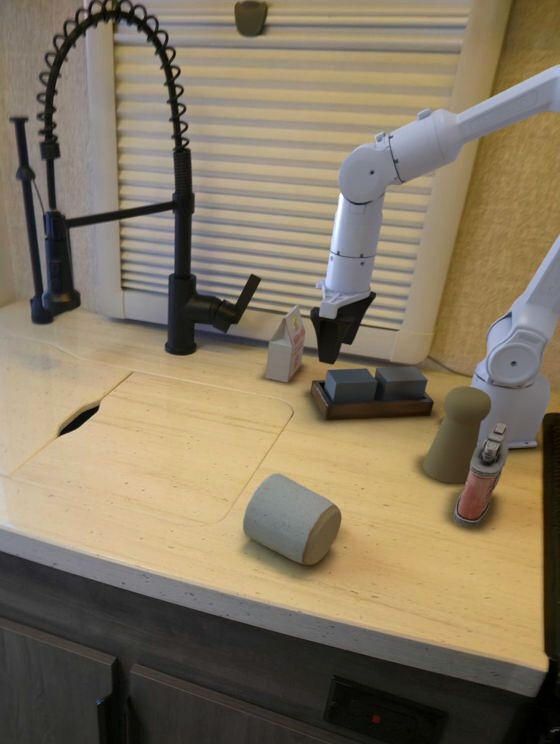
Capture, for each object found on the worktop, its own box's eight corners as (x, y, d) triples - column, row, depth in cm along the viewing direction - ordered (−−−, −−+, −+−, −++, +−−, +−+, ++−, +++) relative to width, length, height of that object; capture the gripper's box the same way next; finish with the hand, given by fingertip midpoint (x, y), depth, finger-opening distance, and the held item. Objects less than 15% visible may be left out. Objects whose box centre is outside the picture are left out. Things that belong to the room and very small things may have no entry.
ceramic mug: (304, 582, 67) (315, 522, 63) (238, 548, 71) (244, 489, 67) (353, 534, 74) (366, 476, 69) (290, 505, 78) (299, 449, 73)
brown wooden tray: (408, 390, 102) (415, 361, 99) (430, 415, 96) (438, 385, 93) (309, 394, 101) (314, 364, 98) (325, 420, 94) (330, 389, 91)
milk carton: (265, 377, 105) (271, 316, 99) (279, 361, 110) (286, 302, 104) (287, 382, 104) (295, 320, 98) (300, 366, 109) (309, 306, 103)
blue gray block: (361, 392, 99) (366, 368, 97) (372, 407, 96) (377, 381, 93) (322, 394, 99) (327, 369, 96) (331, 408, 95) (336, 383, 93)
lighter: (479, 531, 74) (507, 455, 68) (448, 521, 76) (473, 446, 70) (493, 496, 80) (520, 423, 74) (464, 487, 81) (489, 415, 75)
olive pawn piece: (475, 486, 81) (503, 406, 75) (424, 480, 82) (447, 400, 76) (468, 460, 86) (493, 382, 80) (420, 454, 87) (441, 377, 80)
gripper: (340, 234, 91) (326, 329, 99) (302, 261, 81) (289, 364, 89) (391, 241, 88) (372, 339, 96) (359, 270, 78) (340, 376, 86)
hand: (335, 352), depth 93 cm, fingers open, 7 cm apart
